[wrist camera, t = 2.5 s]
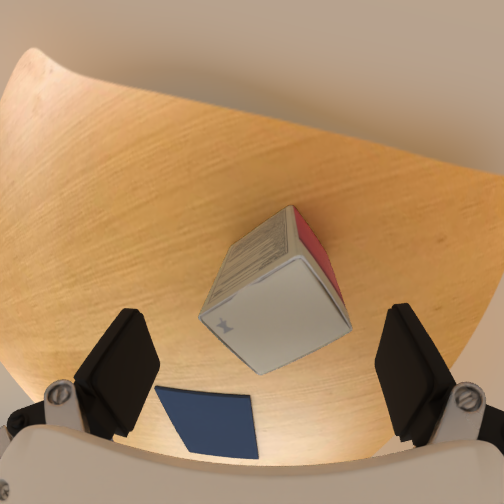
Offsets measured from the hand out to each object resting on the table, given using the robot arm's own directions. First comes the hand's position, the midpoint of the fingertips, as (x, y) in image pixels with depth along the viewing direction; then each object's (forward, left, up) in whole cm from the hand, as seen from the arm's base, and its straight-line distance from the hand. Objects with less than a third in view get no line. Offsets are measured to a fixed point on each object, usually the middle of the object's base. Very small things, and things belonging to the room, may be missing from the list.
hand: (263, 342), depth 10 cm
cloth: (+8, +23, -9) cm, 26 cm away
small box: (0, 0, -9) cm, 9 cm away
